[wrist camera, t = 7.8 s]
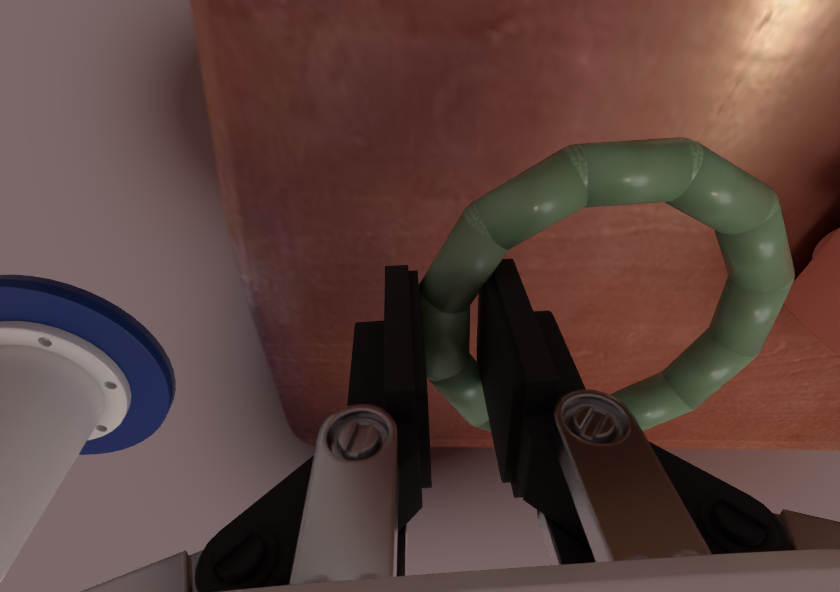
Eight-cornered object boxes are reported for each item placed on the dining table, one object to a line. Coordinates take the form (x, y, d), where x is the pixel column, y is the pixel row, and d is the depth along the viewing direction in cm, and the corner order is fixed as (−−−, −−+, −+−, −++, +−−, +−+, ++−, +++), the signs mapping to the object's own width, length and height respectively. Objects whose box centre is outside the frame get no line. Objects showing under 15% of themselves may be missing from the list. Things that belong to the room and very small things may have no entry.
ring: (424, 429, 14) (426, 464, 13) (406, 146, 10) (408, 168, 9) (707, 408, 15) (730, 441, 14) (830, 118, 10) (880, 137, 9)
